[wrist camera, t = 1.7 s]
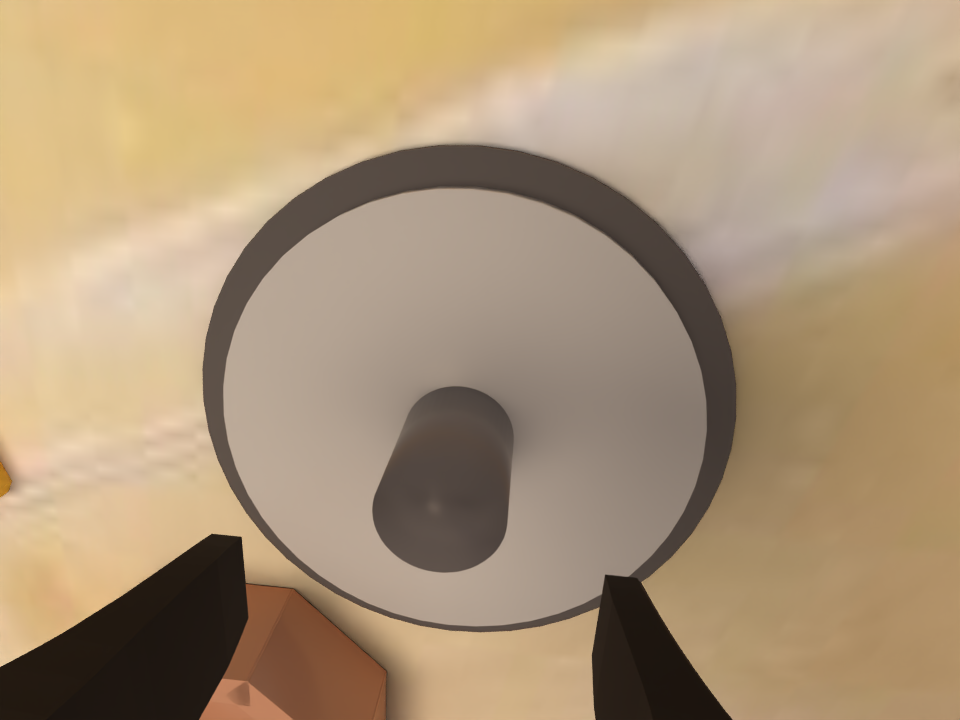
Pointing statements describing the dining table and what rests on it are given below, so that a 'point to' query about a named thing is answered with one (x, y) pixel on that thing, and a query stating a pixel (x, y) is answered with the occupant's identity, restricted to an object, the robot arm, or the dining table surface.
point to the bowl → (296, 667)
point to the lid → (465, 406)
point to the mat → (520, 178)
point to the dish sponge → (4, 481)
